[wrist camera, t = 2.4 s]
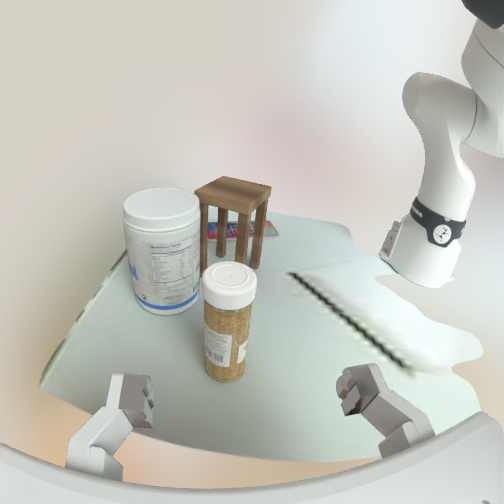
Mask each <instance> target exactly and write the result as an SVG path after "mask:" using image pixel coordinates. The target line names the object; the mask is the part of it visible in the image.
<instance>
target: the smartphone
mask: <svg viewBox="0 0 504 504" xmlns="http://www.w3.org/2000/svg"><path fill="white" fill-rule="evenodd" d="M217 223H218V222H208V232H207V242H217ZM254 226H255V221H250V228H249V238H248V240H253V235H254ZM237 228H238V221H232V222H227V237H226V242H228V241H237ZM278 238H279V234H278V232H277V231H276V229H275V228H274V226H273V225H272V223H271V222H270V221H267V220H265V226H264V233H263V240H265V239H278Z"/></svg>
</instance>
